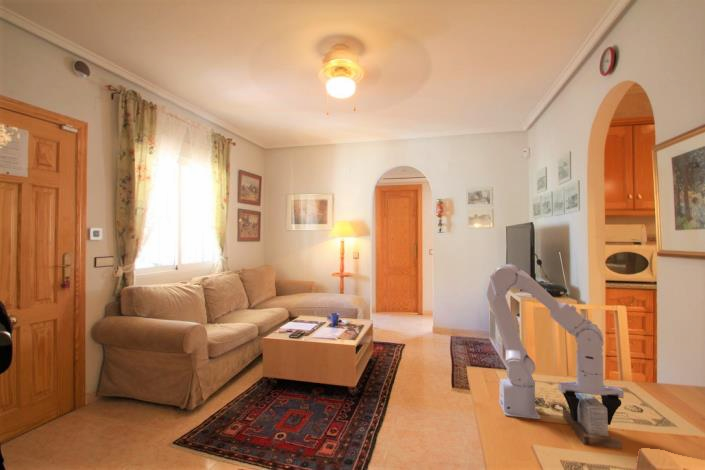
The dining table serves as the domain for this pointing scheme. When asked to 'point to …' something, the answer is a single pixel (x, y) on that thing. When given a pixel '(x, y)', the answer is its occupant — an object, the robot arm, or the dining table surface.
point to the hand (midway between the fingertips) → (590, 420)
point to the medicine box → (592, 415)
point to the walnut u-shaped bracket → (591, 439)
